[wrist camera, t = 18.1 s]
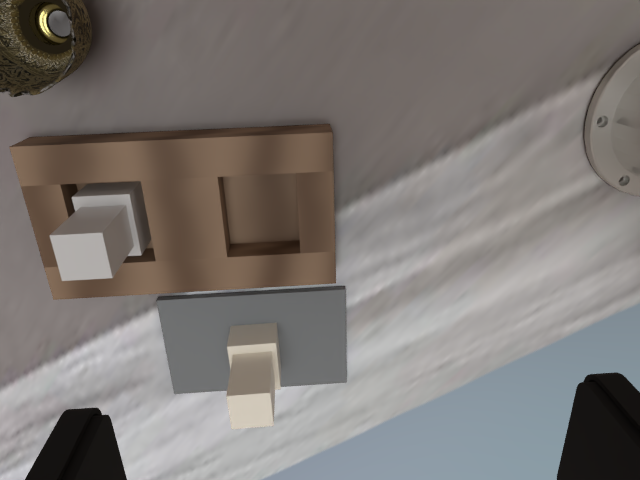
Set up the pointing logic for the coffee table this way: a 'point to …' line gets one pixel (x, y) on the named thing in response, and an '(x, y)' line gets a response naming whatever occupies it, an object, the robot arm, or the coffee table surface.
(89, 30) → the cup
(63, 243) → the grey plug
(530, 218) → the coffee table surface
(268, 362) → the ivory plug
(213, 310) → the mat
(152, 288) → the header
